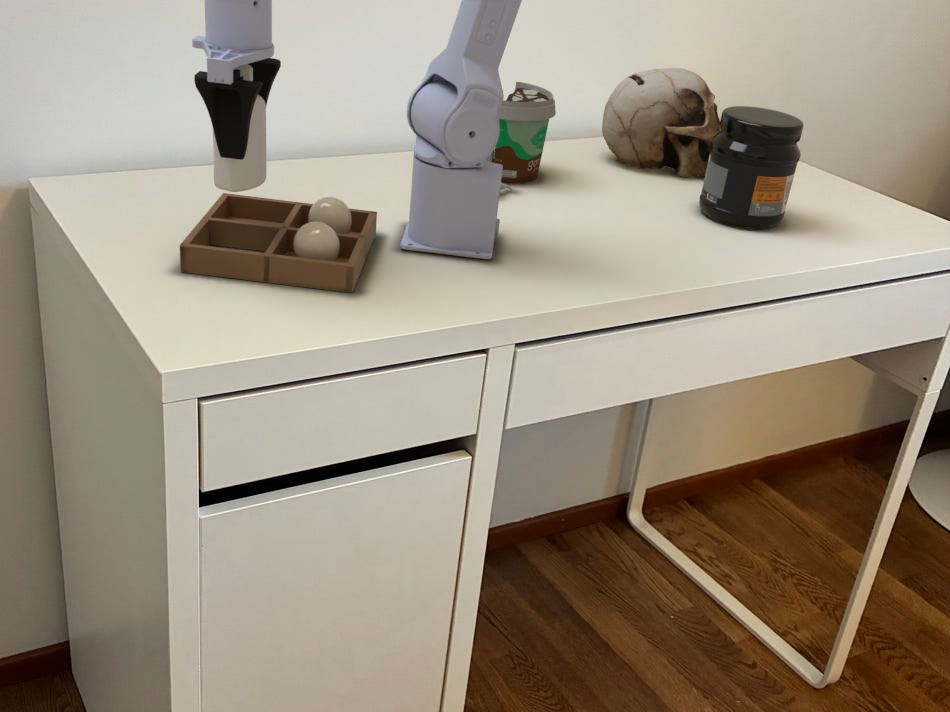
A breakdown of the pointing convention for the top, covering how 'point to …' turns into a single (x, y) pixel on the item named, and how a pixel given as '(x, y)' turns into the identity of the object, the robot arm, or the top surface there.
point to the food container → (523, 132)
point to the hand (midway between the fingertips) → (240, 148)
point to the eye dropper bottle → (253, 166)
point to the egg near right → (316, 242)
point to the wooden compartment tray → (272, 244)
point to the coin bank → (662, 121)
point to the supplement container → (751, 167)
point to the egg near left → (331, 214)
